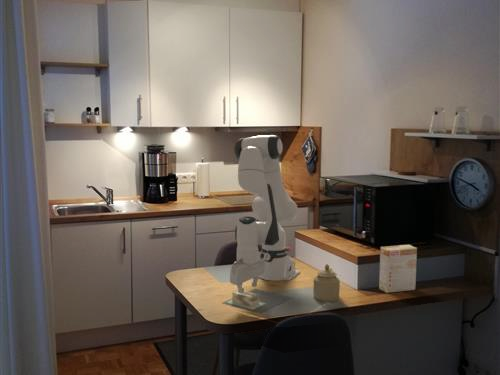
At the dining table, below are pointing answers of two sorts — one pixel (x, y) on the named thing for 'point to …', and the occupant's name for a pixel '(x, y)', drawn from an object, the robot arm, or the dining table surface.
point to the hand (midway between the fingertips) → (247, 289)
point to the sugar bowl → (326, 285)
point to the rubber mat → (262, 301)
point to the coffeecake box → (397, 268)
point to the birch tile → (245, 298)
